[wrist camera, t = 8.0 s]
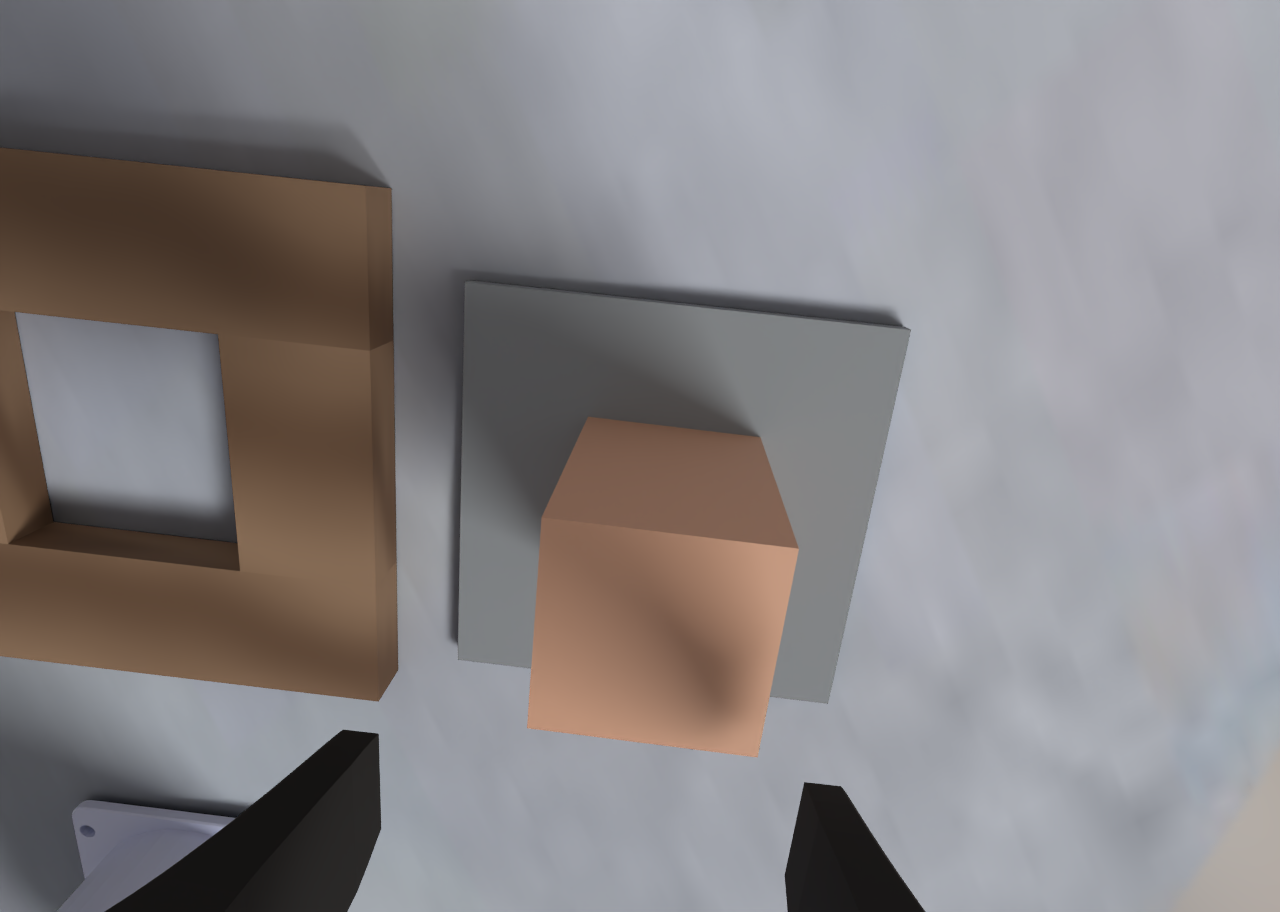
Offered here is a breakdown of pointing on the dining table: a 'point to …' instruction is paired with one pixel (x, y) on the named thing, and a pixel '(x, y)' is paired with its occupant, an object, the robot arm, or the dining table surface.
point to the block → (661, 589)
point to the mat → (678, 397)
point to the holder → (255, 417)
